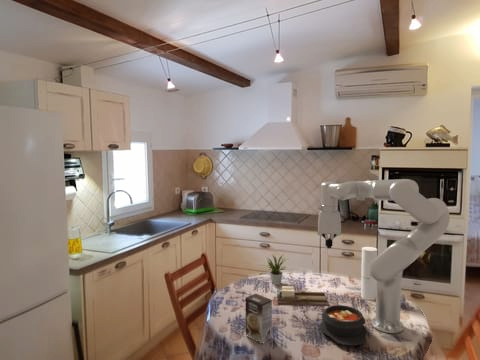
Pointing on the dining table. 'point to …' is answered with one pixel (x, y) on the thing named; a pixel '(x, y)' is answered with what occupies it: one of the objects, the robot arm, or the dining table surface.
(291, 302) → the chute
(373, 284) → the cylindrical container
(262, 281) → the dining table surface
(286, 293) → the block
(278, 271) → the house plant
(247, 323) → the coffee box
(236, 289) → the dining table surface
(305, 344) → the dining table surface
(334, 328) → the casserole
